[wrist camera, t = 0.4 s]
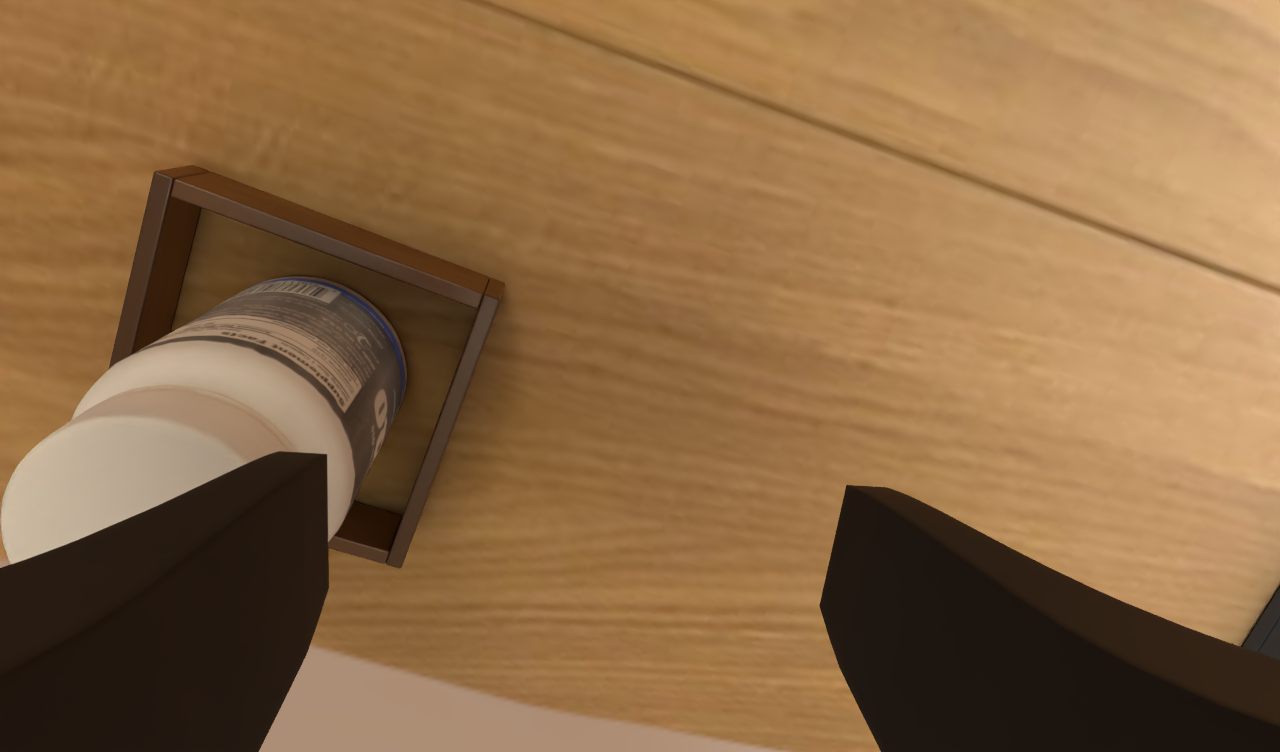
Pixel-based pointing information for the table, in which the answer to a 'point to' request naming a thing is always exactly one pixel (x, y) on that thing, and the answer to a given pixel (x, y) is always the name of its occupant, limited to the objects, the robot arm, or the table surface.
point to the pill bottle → (217, 412)
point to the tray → (1267, 631)
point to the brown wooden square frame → (196, 188)
